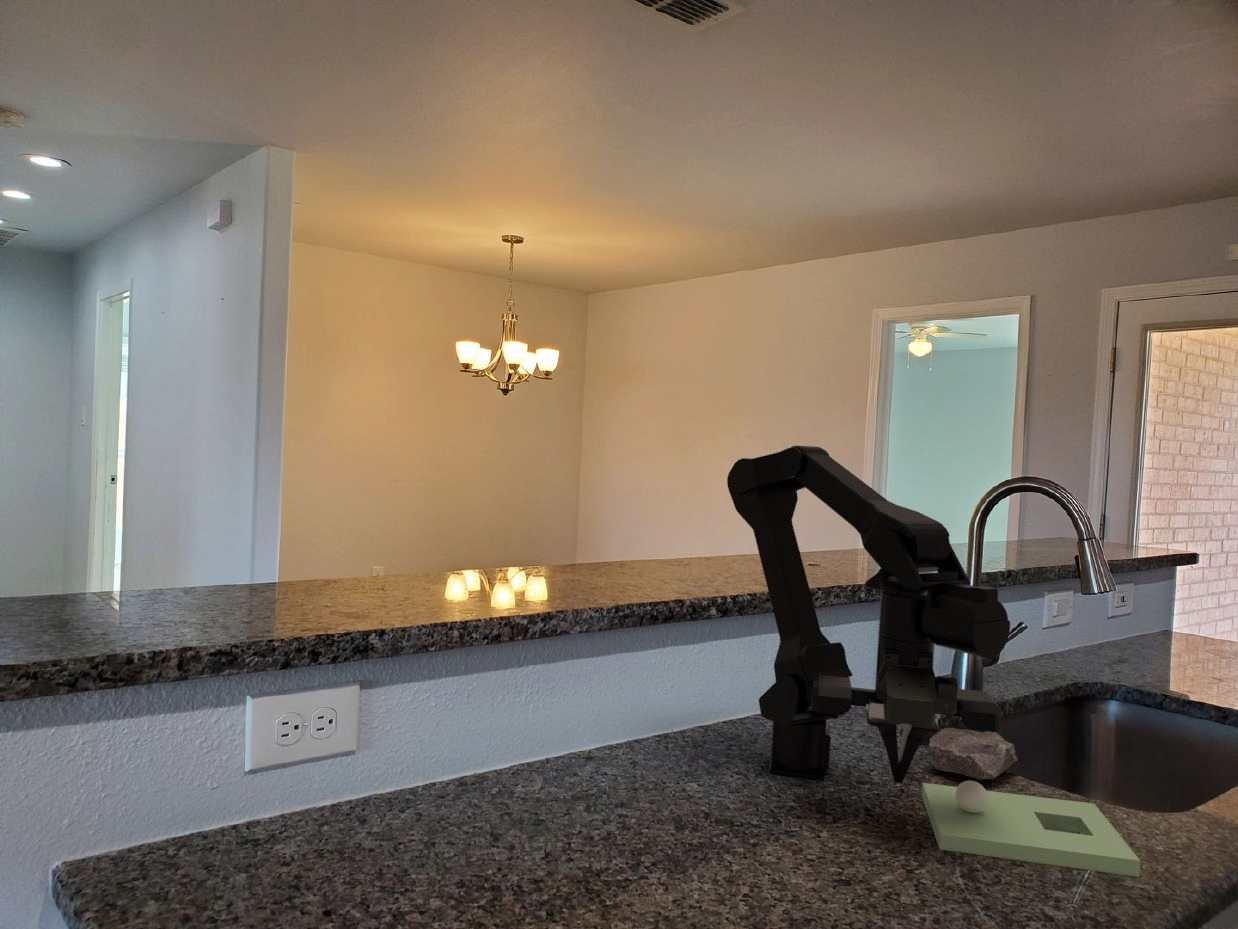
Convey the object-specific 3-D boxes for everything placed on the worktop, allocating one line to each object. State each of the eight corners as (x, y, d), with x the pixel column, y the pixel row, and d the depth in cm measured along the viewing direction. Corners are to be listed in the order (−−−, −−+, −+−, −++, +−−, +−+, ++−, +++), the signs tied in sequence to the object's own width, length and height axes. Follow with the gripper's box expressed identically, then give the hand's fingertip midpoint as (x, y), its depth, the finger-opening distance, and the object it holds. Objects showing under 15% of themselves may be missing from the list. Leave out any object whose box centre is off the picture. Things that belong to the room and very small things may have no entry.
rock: (1030, 768, 112) (1031, 731, 112) (987, 790, 104) (988, 750, 104) (967, 751, 118) (968, 716, 118) (922, 770, 110) (923, 733, 110)
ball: (957, 816, 94) (959, 785, 94) (952, 804, 97) (954, 774, 97) (989, 820, 93) (991, 789, 93) (983, 808, 96) (985, 778, 96)
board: (939, 850, 89) (940, 834, 89) (921, 796, 103) (922, 782, 102) (1139, 877, 85) (1140, 860, 85) (1093, 818, 99) (1094, 803, 99)
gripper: (817, 644, 90) (808, 799, 90) (1017, 663, 86) (1006, 824, 87) (816, 623, 101) (808, 761, 101) (993, 639, 97) (984, 782, 97)
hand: (897, 782), depth 96 cm, fingers closed
